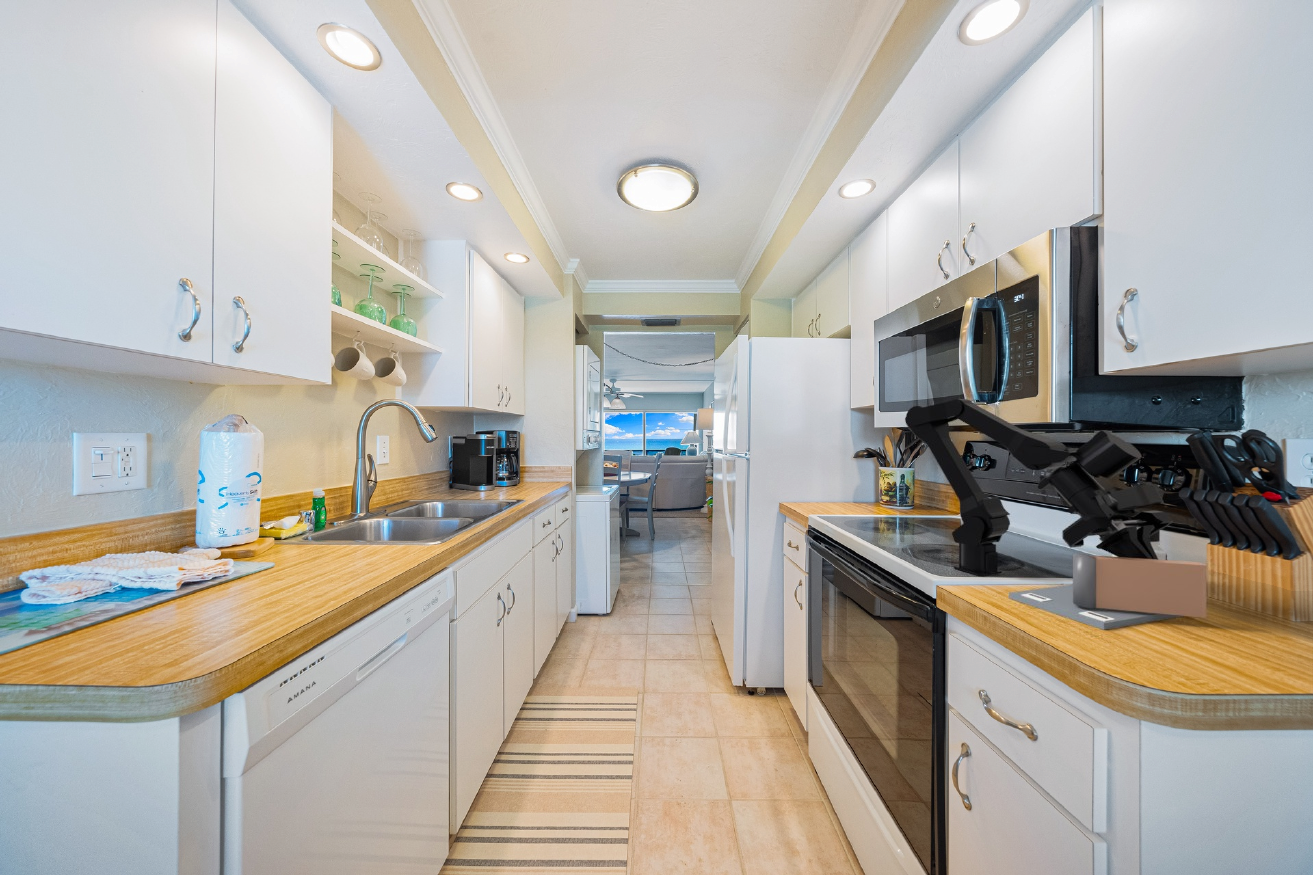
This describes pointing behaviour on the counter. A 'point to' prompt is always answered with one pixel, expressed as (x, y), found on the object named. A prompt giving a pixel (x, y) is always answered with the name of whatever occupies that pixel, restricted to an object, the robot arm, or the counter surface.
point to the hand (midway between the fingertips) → (1159, 573)
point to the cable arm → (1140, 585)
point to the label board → (1082, 608)
